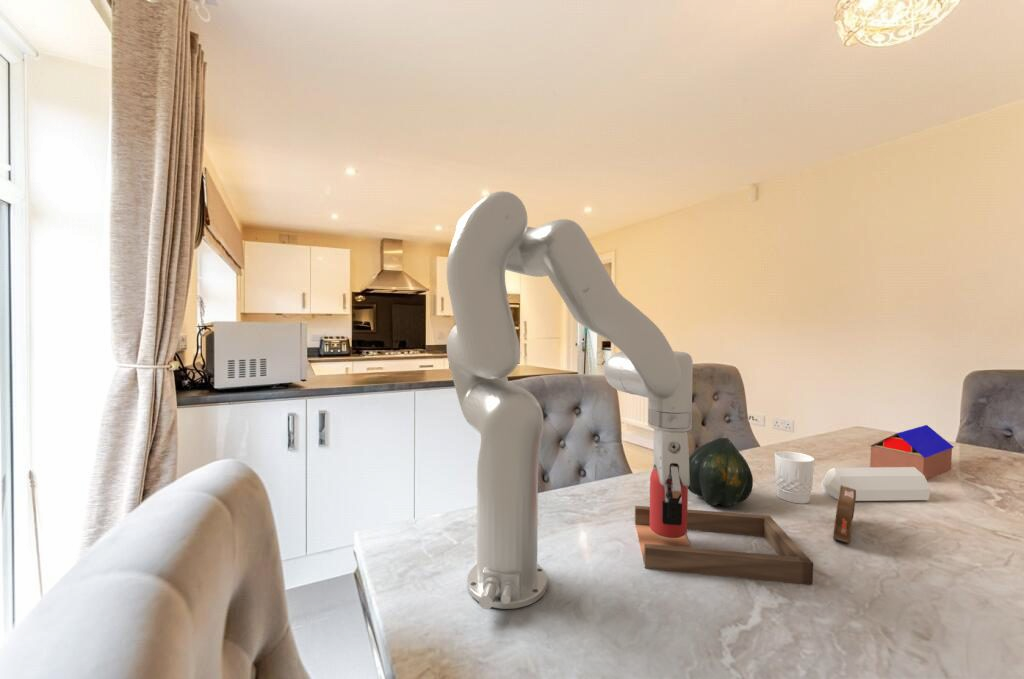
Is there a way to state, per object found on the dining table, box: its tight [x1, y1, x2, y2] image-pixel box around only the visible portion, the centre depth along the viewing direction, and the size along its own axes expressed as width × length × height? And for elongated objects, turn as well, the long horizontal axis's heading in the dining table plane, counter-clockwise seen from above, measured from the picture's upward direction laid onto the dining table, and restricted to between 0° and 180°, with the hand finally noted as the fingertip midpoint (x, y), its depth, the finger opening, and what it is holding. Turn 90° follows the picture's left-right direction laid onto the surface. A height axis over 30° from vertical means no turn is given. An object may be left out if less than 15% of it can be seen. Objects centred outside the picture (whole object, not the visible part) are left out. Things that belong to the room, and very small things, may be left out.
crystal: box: [820, 467, 931, 502], centre depth 103 cm, size 7×7×24 cm
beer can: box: [649, 463, 689, 538], centre depth 80 cm, size 7×7×12 cm
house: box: [869, 424, 954, 481], centre depth 123 cm, size 12×20×12 cm, turn 119°
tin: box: [832, 485, 856, 544], centre depth 85 cm, size 15×3×8 cm, turn 141°
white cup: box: [774, 450, 816, 505], centre depth 102 cm, size 8×8×10 cm
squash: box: [688, 437, 754, 507], centre depth 101 cm, size 14×15×15 cm
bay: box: [634, 505, 814, 586], centre depth 79 cm, size 17×26×4 cm, turn 80°
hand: (668, 513), depth 81 cm, fingers closed on beer can, 6 cm apart
